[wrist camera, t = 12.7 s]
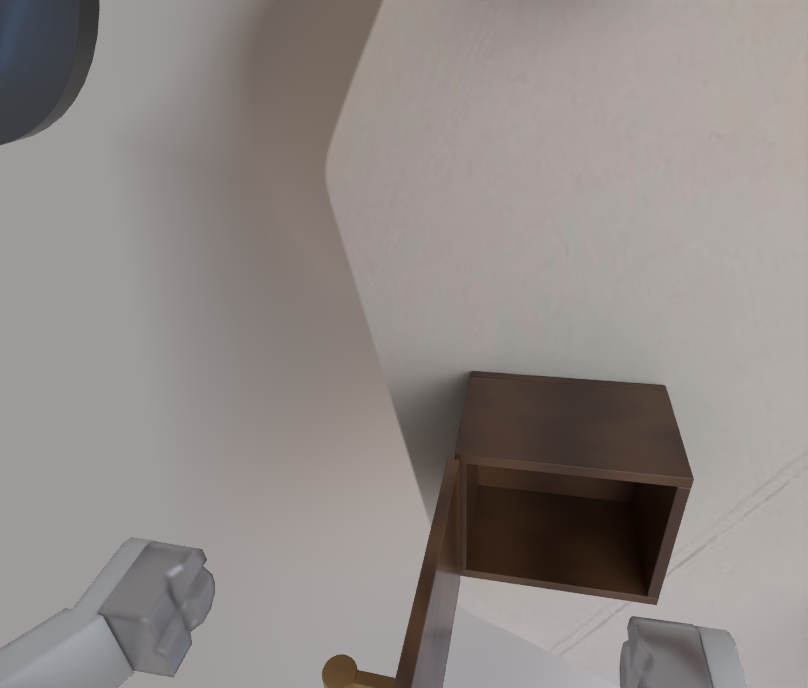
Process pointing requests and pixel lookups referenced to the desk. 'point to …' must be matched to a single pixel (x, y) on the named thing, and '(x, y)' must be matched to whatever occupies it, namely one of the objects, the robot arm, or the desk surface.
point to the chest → (570, 484)
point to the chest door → (421, 606)
